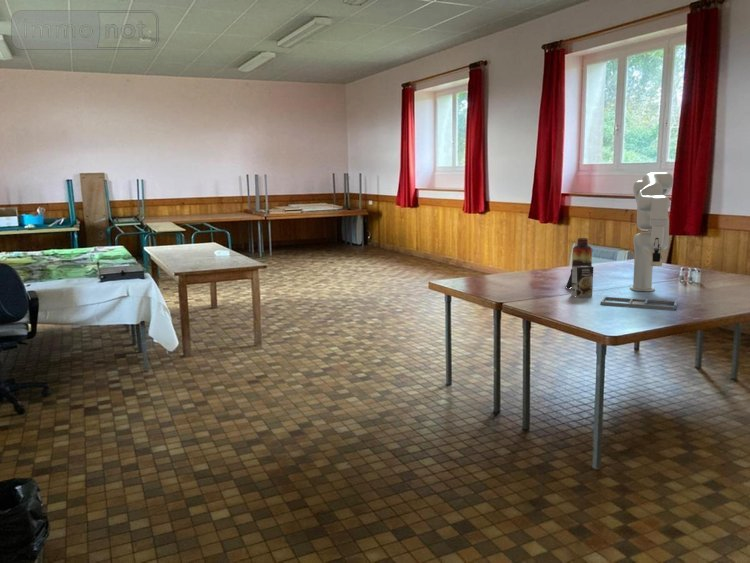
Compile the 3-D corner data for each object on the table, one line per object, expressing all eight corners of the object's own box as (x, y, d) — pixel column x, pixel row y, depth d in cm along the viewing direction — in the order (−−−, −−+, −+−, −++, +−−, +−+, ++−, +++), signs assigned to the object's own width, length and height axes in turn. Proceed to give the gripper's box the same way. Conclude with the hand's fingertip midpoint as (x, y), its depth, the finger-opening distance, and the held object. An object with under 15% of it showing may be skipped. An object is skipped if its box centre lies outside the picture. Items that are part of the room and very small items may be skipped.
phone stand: (565, 288, 348) (566, 267, 346) (570, 287, 352) (571, 266, 350) (580, 290, 342) (580, 269, 340) (585, 288, 346) (586, 267, 344)
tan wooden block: (651, 264, 298) (652, 248, 297) (661, 265, 296) (662, 248, 295) (650, 265, 295) (651, 249, 293) (661, 266, 292) (661, 249, 291)
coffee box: (577, 297, 322) (577, 267, 320) (570, 295, 329) (571, 265, 326) (592, 296, 324) (593, 266, 321) (586, 294, 330) (587, 264, 327)
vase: (591, 283, 361) (592, 239, 357) (571, 282, 365) (572, 239, 360) (590, 280, 372) (592, 237, 367) (571, 279, 375) (572, 237, 370)
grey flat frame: (604, 299, 316) (604, 294, 316) (676, 304, 300) (677, 299, 300) (600, 304, 304) (600, 299, 304) (675, 310, 288) (675, 305, 288)
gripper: (651, 221, 301) (650, 258, 304) (648, 224, 286) (646, 262, 290) (668, 221, 297) (666, 258, 300) (665, 224, 283) (663, 263, 286)
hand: (656, 260), depth 295 cm, fingers closed on tan wooden block, 4 cm apart
